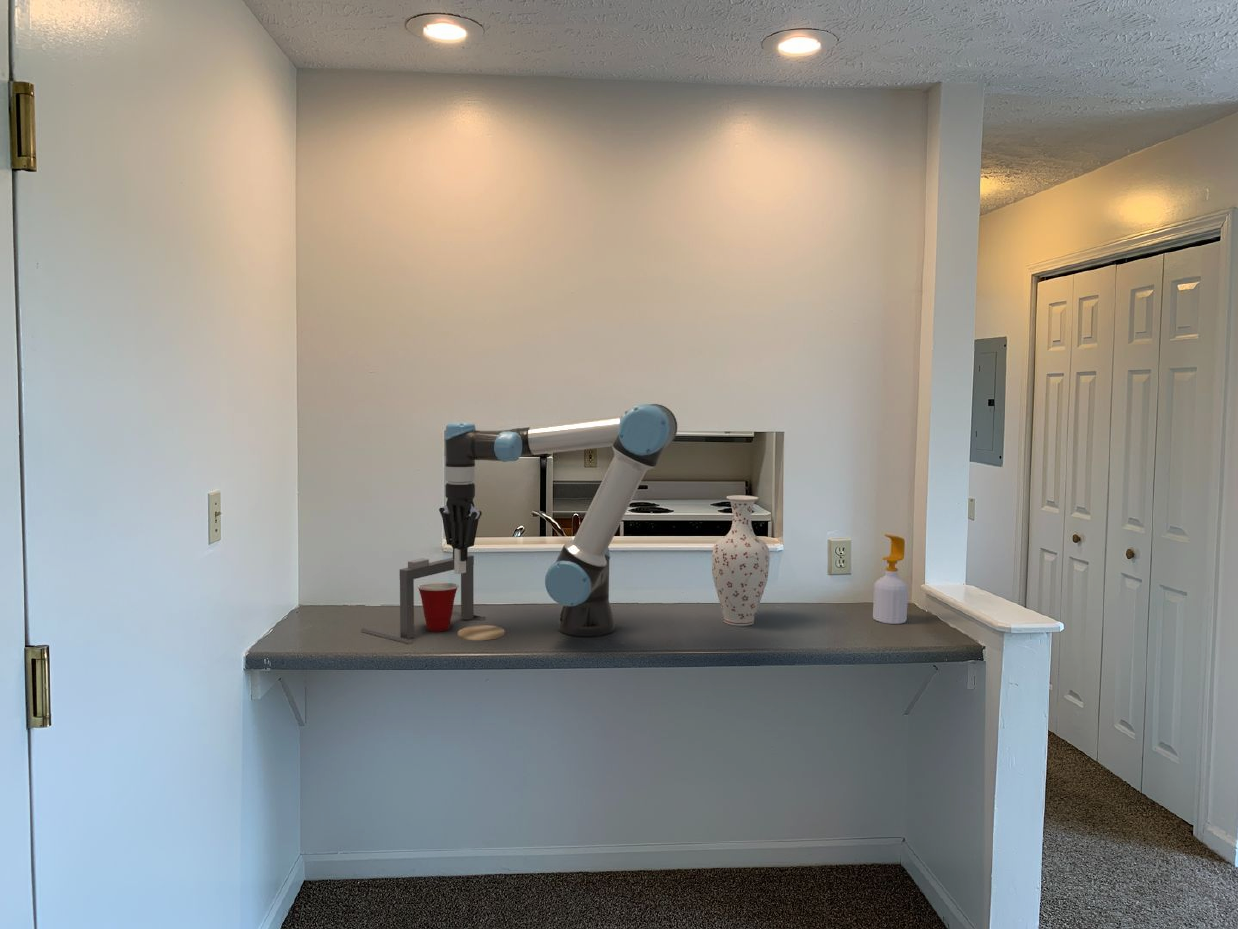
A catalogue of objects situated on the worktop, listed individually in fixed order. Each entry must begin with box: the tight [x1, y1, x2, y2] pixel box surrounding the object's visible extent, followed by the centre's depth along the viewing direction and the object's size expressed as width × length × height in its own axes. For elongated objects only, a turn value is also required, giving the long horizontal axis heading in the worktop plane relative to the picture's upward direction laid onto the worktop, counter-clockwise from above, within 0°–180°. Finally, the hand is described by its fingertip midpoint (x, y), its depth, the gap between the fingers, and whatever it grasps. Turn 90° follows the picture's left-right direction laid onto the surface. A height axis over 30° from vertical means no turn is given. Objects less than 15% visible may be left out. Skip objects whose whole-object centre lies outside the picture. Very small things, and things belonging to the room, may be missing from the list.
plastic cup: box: [416, 582, 459, 632], centre depth 228 cm, size 11×11×12 cm
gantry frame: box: [399, 554, 475, 639], centre depth 227 cm, size 3×24×19 cm, turn 147°
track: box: [360, 608, 486, 645], centre depth 231 cm, size 18×28×1 cm, turn 147°
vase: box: [711, 494, 771, 627], centre depth 238 cm, size 16×16×35 cm
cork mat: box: [457, 624, 505, 642], centre depth 224 cm, size 12×12×1 cm
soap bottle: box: [872, 533, 909, 625], centre depth 242 cm, size 9×9×25 cm
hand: (460, 572), depth 222 cm, fingers closed
